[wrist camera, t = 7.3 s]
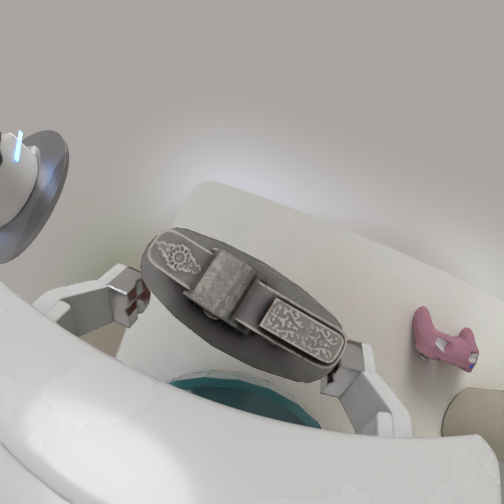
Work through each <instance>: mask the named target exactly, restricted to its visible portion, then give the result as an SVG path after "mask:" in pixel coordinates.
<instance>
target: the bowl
mask: <svg viewBox="0 0 504 504" xmlns="http://www.w3.org/2000/svg"><path fill="white" fill-rule="evenodd" d="M165 383H167V384H170V385H172V386H175V387H177V388H179V389H182V390H184V391H187V392H190V393H192V394H195V395H197V396H200V397H203V398H206V399H208V400H211V401H214V402H217V403H220V404H223V405H226V406H229V407H232V408H235V409H239V410H242V411H245V412H249V413H252V414H256V415H260V416H263V417H267V418H271V419H275V420H279V421H284V422H288V423H293V424H298V425H302V426H308V427H313V428H318V429H322V428H321V426H320V425H319V423H318V422H317V421H316V420H315V418H314V417H313V416H312V415H311V414H310V412H309V411H308V410H307V409H306V408H305V407H304V406H303V405H302V404H300V403H299V402H298V401H297V400H296V399H295V398H294V397H293V396H292V395H291V394H290V393H288V392H286V391H284V390H283V389H281V388H279V387H277V386H276V385H274V384H272V383H270V382H269V381H266V380H263V379H260V378H256V377H253V376H250V375H246V374H243V373H239V372H225V371H214V370H213V371H205V372H198V373H191V374H185V375H183V376H180V377H178V378H175V379H173V380H170V381H168V382H165Z"/></svg>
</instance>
